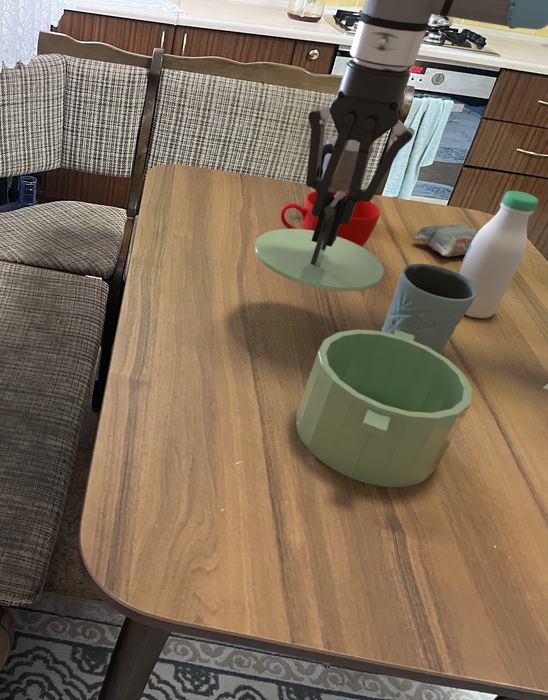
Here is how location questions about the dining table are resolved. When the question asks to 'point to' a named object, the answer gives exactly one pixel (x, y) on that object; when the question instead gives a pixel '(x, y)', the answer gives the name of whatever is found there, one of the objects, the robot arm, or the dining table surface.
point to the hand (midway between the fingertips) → (323, 240)
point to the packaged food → (447, 239)
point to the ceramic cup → (353, 231)
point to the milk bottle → (497, 253)
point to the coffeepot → (341, 163)
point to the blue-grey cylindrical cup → (429, 304)
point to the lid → (319, 257)
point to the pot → (381, 407)
